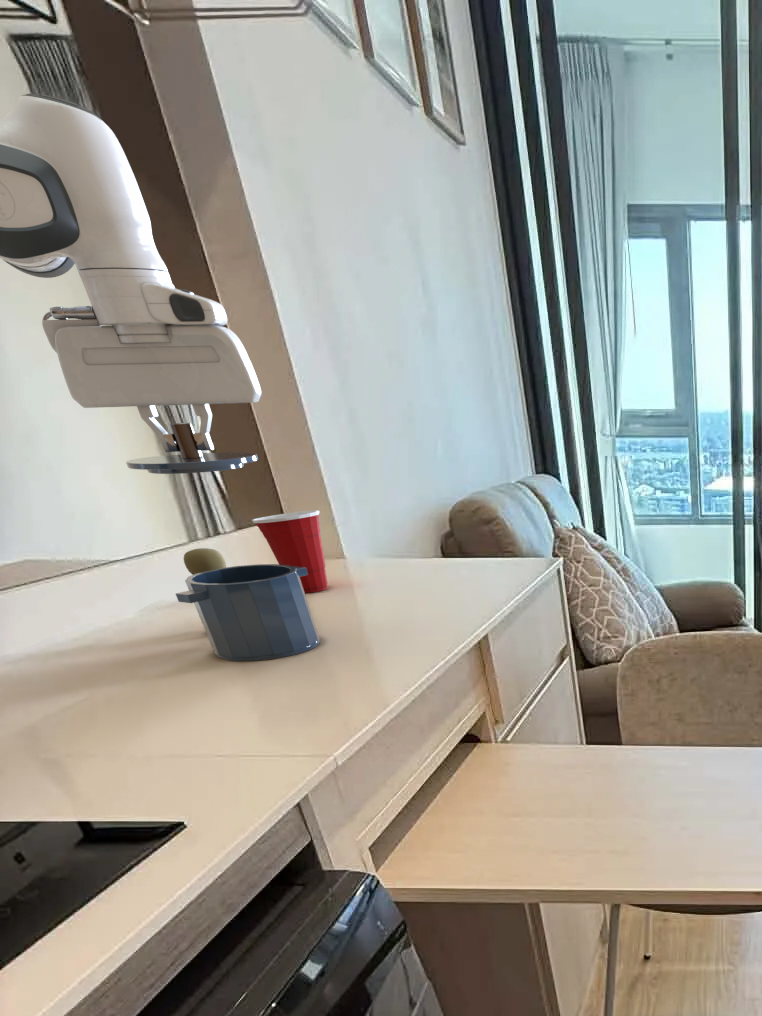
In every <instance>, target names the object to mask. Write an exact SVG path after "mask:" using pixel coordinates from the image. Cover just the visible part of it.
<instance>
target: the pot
mask: <svg viewBox="0 0 762 1016" xmlns="http://www.w3.org/2000/svg"><path fill="white" fill-rule="evenodd" d="M306 575H308V573H307V570H306V567H296V566H293V567H292V566H290V565H279V563H277V564H276V563H275V564H273V563H272V564H271V563H269V564H268V563H267V564H263V563H262V564H259V563H258V564H247V565H237V566H236V565H235V566H226V568H220V569H214V570H209V571H205V572H200V573H197V574H194V575H192V574H191V575H189V576H187V577H186V578H185V580H184V582H185V584H186V587H187V590H184V591H180V592H177V593H175V596H176V598H177V599H176V600H177V601H178V602H179V603H185V604H194V606H195V609H196V611H197V614H198V616H199V619H200V621H201V624H202V626H203V629H204V631H205V633H206V636H207V638H208V641H209V643H210V646H211V649H212V652H214V653H215V655H216V657H217V658H219V659H221V660H225V661H232V662H233V661H234V662H254V661H255V662H256V661H268V660H274V659H280V658H285V657H291V656H295V655H299V654H302V653H305V652H308V651H310V650H313V649H314V648H316V647H317V646H318V645H319V644H320V642H321V641H320V635H319V632H318V629H317V626H316V623H315V619H314V618H313V614H312V611H311V608H310V605H309V602H308V599H307V596H306V593H305V592H304V589H303V586H302V583H301V580H300V577H301V576H306Z"/></svg>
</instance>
